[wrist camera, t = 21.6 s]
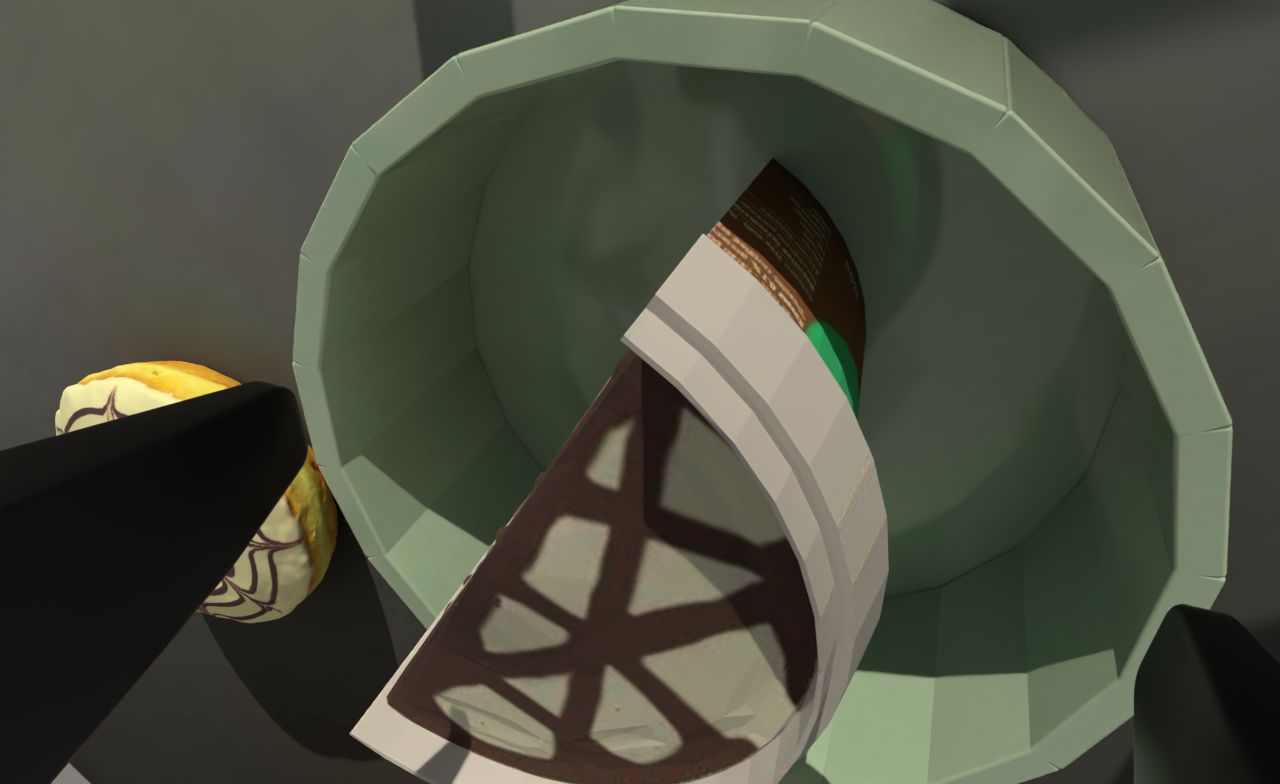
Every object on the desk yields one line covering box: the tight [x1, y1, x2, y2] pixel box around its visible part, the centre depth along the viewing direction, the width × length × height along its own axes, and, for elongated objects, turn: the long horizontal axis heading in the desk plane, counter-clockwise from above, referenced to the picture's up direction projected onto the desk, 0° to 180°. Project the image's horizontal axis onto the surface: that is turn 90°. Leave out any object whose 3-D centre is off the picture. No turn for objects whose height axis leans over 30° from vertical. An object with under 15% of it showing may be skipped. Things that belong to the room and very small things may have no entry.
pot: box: [292, 0, 1233, 784], centre depth 18 cm, size 17×17×6 cm
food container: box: [350, 158, 889, 784], centre depth 16 cm, size 12×6×10 cm, turn 149°
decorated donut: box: [55, 361, 338, 623], centre depth 29 cm, size 10×11×4 cm
